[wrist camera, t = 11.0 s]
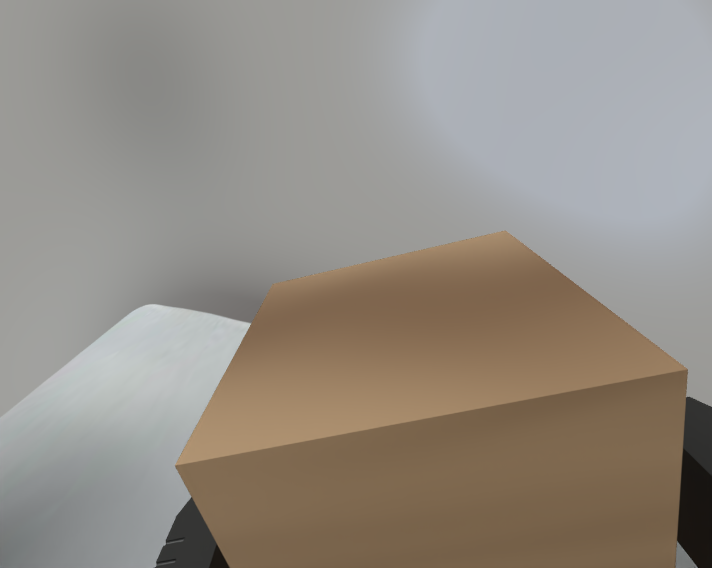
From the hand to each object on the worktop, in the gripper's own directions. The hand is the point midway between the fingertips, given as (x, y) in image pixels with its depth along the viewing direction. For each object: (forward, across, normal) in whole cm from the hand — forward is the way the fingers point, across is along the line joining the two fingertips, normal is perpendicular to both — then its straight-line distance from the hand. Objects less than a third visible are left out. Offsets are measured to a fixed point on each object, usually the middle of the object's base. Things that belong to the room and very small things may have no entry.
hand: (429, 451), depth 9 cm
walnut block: (-1, 0, +10) cm, 10 cm away
